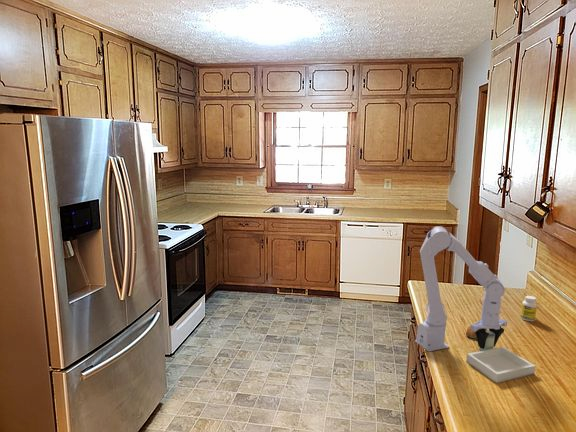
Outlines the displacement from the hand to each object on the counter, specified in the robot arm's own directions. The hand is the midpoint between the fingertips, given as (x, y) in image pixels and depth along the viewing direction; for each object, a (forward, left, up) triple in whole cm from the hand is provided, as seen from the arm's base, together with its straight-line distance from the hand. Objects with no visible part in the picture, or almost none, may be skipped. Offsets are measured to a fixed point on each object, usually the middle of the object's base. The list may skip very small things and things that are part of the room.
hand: (486, 346), depth 150 cm
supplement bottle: (+38, +16, -2) cm, 41 cm away
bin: (-4, -10, -2) cm, 11 cm away
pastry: (+6, +11, -2) cm, 13 cm away
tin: (0, 0, -2) cm, 2 cm away
